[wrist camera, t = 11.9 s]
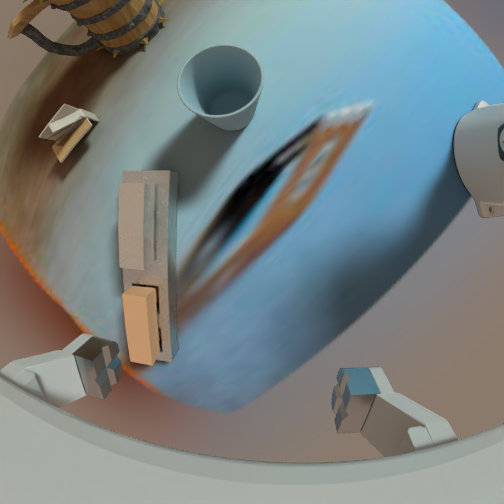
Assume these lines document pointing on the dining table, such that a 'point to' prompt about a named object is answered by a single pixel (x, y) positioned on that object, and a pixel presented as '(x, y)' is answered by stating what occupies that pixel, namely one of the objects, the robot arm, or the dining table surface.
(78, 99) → the dining table surface
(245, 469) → the robot arm
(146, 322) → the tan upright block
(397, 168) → the dining table surface
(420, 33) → the dining table surface
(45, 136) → the architectural model
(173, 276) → the rail
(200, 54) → the cup
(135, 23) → the mug
